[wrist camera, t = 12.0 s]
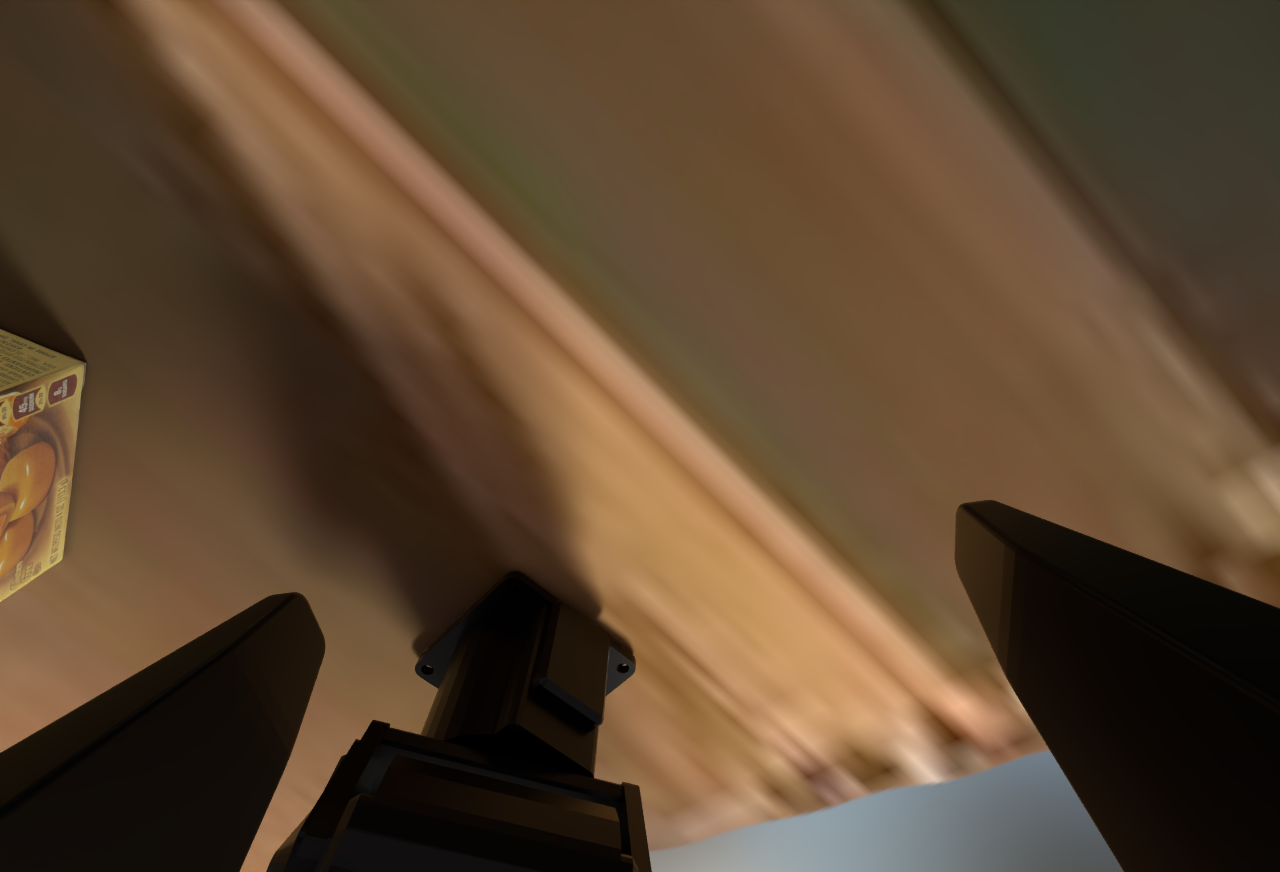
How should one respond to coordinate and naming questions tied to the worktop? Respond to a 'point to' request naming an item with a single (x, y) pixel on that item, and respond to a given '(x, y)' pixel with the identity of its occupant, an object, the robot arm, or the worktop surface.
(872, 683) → the worktop surface
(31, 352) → the candy box
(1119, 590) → the robot arm
